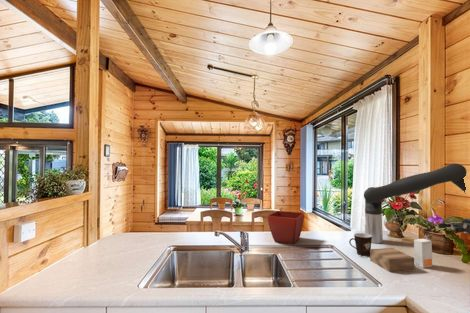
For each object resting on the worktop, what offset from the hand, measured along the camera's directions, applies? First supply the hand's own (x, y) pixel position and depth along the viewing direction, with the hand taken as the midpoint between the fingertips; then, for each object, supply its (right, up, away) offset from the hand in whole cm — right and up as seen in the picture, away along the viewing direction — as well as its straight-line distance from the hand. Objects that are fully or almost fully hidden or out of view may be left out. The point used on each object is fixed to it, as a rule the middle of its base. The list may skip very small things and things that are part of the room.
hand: (446, 228), depth 124 cm
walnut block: (-27, -18, 0) cm, 32 cm away
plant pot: (-67, -20, +44) cm, 83 cm away
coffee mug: (-33, -18, +16) cm, 41 cm away
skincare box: (-12, -17, -2) cm, 21 cm away
